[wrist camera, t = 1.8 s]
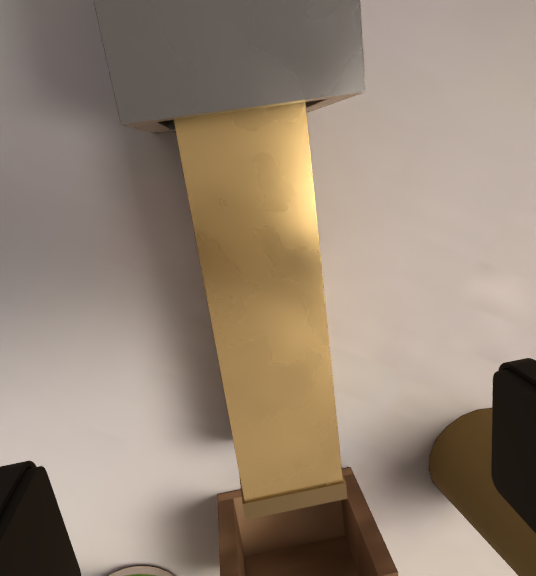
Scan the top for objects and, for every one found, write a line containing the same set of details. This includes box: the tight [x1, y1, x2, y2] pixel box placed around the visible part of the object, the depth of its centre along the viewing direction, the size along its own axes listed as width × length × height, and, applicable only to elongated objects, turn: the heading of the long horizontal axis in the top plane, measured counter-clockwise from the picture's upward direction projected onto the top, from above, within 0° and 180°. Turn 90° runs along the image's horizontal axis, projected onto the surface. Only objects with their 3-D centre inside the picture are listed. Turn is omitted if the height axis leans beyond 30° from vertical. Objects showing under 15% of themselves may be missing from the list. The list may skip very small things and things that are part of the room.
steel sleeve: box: [94, 0, 365, 133], centre depth 14 cm, size 6×6×7 cm
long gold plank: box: [174, 102, 348, 520], centre depth 16 cm, size 4×24×4 cm, turn 8°
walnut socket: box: [218, 467, 398, 576], centre depth 21 cm, size 7×5×7 cm
